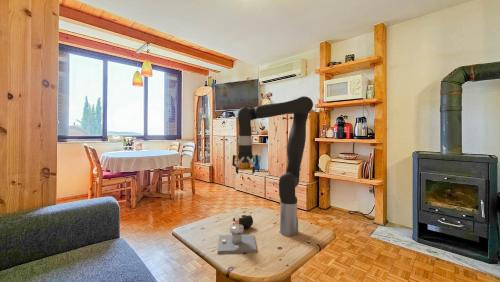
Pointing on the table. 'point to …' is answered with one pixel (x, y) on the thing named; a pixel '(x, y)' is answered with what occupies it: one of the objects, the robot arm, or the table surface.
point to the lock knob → (236, 227)
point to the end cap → (245, 221)
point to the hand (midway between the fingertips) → (245, 173)
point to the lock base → (242, 246)
